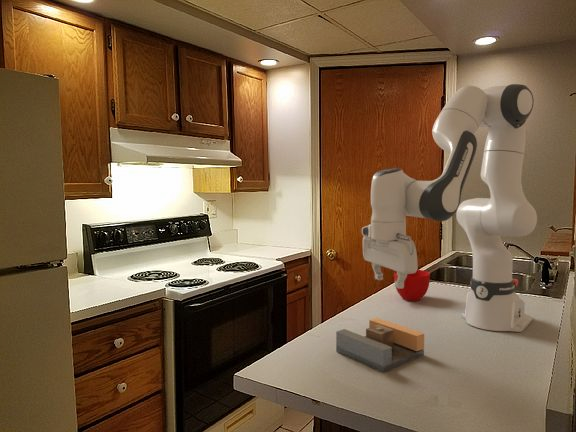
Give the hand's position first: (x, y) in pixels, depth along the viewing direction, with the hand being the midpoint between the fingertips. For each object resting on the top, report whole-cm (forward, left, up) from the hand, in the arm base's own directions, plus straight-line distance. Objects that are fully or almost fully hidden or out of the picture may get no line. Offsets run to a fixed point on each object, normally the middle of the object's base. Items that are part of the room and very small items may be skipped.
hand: (388, 283), depth 114 cm
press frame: (+3, 0, -18) cm, 19 cm away
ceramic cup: (-43, -25, -19) cm, 53 cm away
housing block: (+3, 0, -17) cm, 17 cm away
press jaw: (-3, 0, -16) cm, 17 cm away
